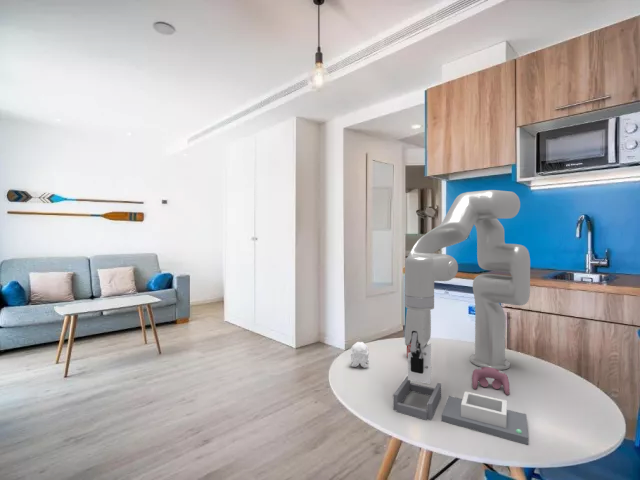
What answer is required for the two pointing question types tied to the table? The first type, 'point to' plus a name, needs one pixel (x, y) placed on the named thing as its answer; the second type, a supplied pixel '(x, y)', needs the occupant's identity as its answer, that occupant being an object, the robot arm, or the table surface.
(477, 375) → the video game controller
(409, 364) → the white angled block
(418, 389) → the gray rectangular frame
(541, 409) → the table surface
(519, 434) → the port block
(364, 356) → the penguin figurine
